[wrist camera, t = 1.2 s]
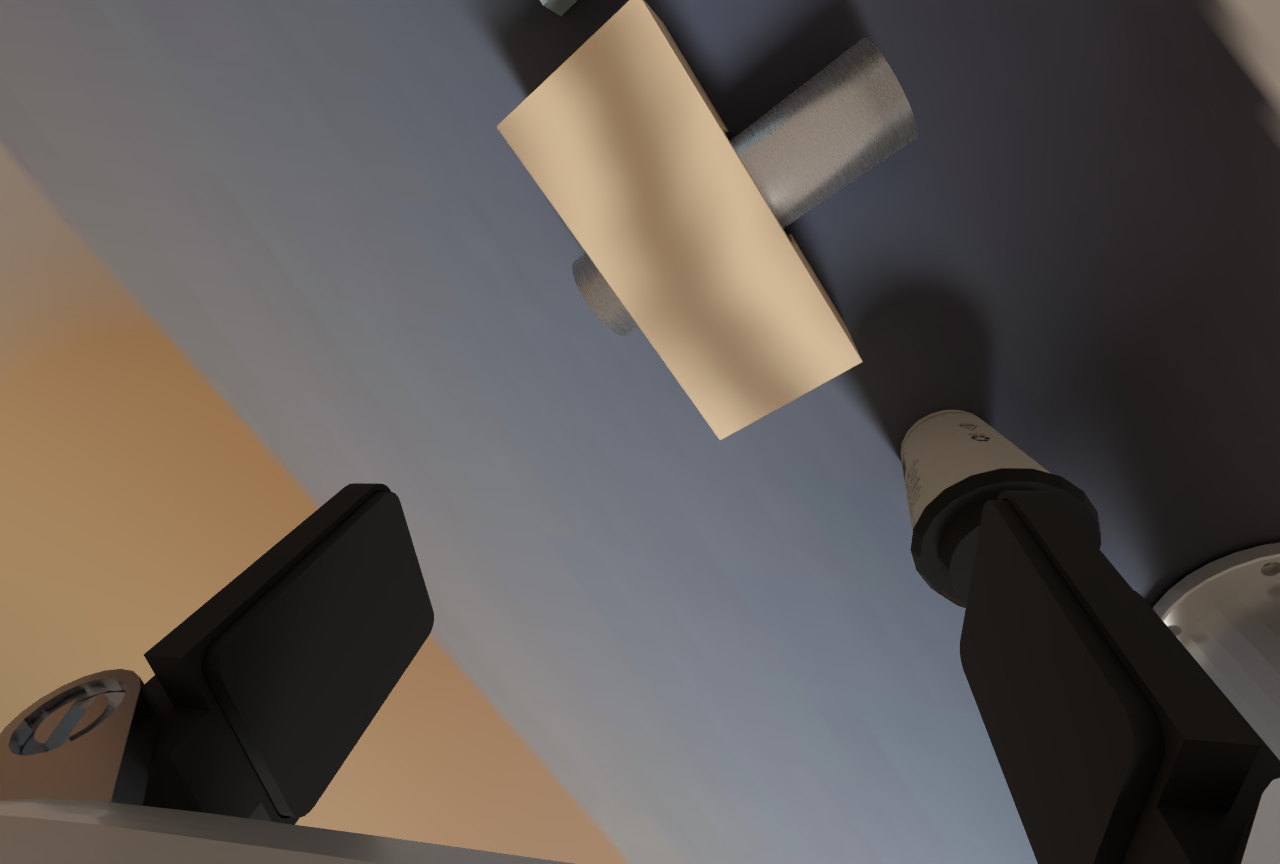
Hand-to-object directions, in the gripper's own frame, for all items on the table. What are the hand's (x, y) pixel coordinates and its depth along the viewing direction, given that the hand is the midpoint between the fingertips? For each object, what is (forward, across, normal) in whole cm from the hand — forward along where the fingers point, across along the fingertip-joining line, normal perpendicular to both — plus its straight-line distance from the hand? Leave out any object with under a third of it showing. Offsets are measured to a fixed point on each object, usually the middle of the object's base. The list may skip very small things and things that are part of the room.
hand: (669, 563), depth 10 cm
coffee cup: (+23, -11, +10) cm, 28 cm away
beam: (+23, +2, -2) cm, 23 cm away
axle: (+24, 0, -3) cm, 24 cm away
